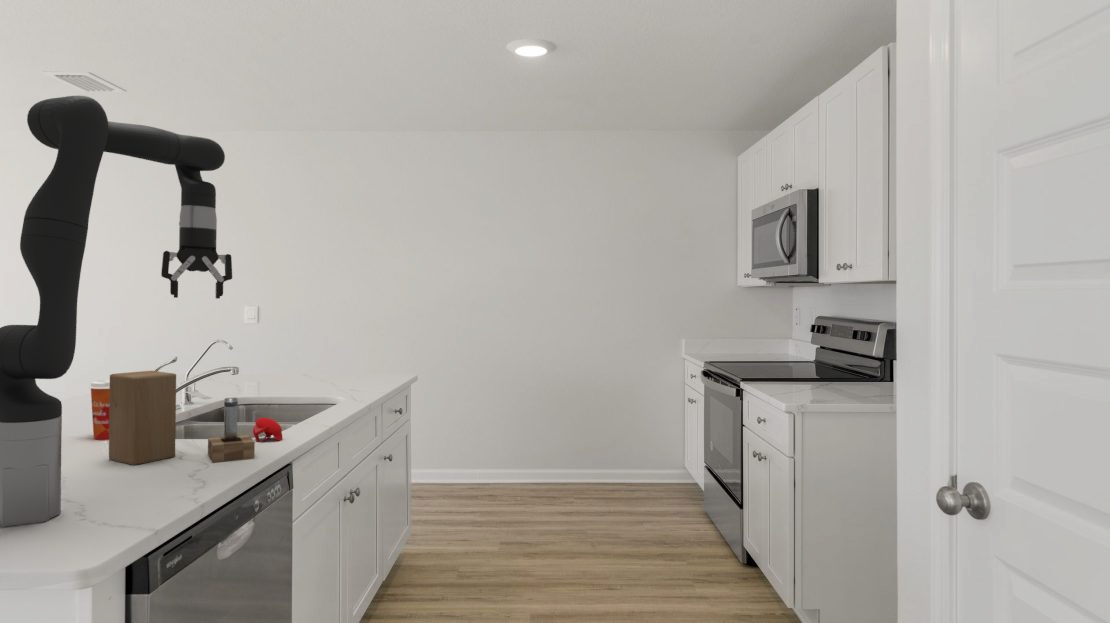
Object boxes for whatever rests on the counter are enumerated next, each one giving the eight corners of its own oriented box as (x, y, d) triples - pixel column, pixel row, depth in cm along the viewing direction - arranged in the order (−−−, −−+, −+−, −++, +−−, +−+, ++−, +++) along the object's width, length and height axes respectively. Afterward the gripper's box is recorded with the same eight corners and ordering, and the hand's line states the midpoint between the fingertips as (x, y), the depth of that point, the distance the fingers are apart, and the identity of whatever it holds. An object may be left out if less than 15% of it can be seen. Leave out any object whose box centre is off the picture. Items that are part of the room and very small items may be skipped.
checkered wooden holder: (254, 458, 160) (254, 441, 160) (212, 462, 155) (212, 445, 155) (248, 450, 168) (248, 434, 167) (207, 454, 163) (208, 438, 162)
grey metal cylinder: (237, 456, 161) (238, 399, 161) (224, 458, 159) (225, 399, 159) (235, 454, 163) (236, 397, 163) (222, 455, 162) (223, 398, 161)
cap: (244, 430, 176) (262, 419, 175) (254, 419, 182) (271, 408, 181) (264, 452, 179) (282, 442, 178) (273, 440, 184) (290, 430, 183)
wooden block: (107, 459, 155) (108, 373, 155) (150, 451, 164) (151, 370, 164) (133, 465, 150) (134, 377, 150) (176, 457, 159) (177, 373, 159)
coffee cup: (80, 439, 175) (81, 382, 175) (110, 433, 183) (110, 378, 182) (105, 442, 172) (105, 384, 172) (133, 436, 180) (134, 380, 180)
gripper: (163, 223, 146) (162, 297, 147) (234, 228, 154) (233, 299, 154) (161, 226, 152) (160, 297, 153) (230, 230, 160) (229, 298, 161)
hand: (197, 298), depth 154 cm, fingers open, 8 cm apart
